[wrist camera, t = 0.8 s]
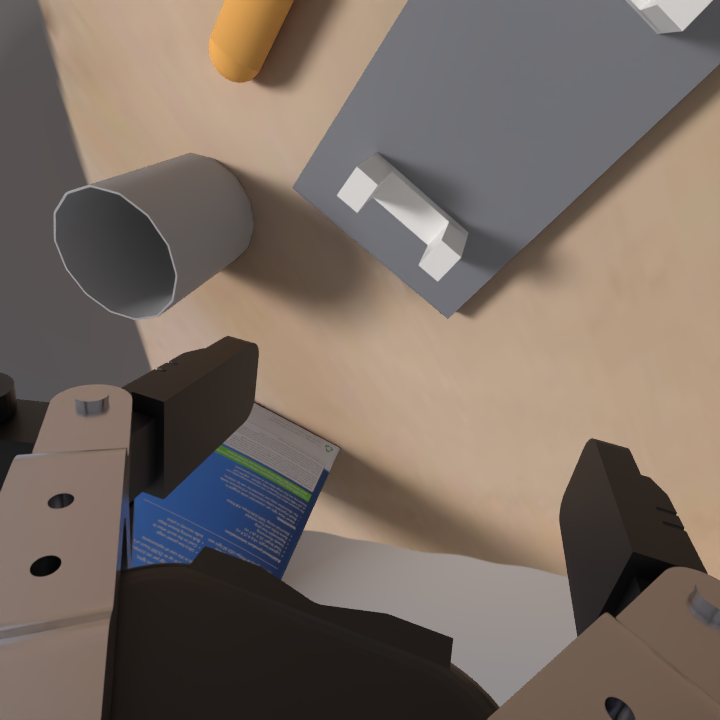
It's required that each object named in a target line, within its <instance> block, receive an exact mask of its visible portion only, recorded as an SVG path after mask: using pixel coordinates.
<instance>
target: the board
mask: <svg viewBox="0 0 720 720" xmlns="http://www.w3.org/2000/svg"><path fill="white" fill-rule="evenodd" d="M719 64H720V0H408V2H407V3H406V5H405V6H404V8H403V10H402V11H401V13H400V15H399V16H398V18H397V19H396V21H395V23H394V24H393V26H392V27H391V29H390V31H389V32H388V34H387V36H386V37H385V39H384V40H383V42H382V44H381V45H380V47H379V48H378V50H377V52H376V53H375V55H374V57H373V58H372V60H371V61H370V63H369V65H368V66H367V68H366V69H365V71H364V73H363V74H362V76H361V78H360V79H359V81H358V82H357V84H356V86H355V87H354V89H353V91H352V92H351V94H350V95H349V97H348V99H347V100H346V102H345V103H344V105H343V107H342V108H341V110H340V112H339V113H338V115H337V116H336V118H335V120H334V121H333V123H332V124H331V126H330V128H329V129H328V131H327V133H326V134H325V136H324V137H323V139H322V141H321V142H320V144H319V146H318V147H317V149H316V150H315V152H314V154H313V155H312V157H311V158H310V160H309V162H308V163H307V165H306V167H305V168H304V170H303V171H302V173H301V175H300V176H299V178H298V179H297V181H296V183H295V184H294V186H293V189H294V190H295V191H296V192H298V193H299V194H300V195H301V196H302V197H304V198H305V199H306V200H307V201H308V202H310V203H311V204H312V205H313V206H314V207H315V208H317V209H318V210H319V211H320V212H321V213H323V214H324V215H325V216H326V217H327V218H329V219H330V220H331V221H332V222H333V223H334V224H336V225H337V226H338V227H339V228H340V229H342V230H343V231H344V232H345V233H346V234H348V235H349V236H350V237H351V238H352V239H354V240H355V241H356V242H357V243H358V244H359V245H361V246H362V247H363V248H364V249H365V250H367V251H368V252H369V253H370V254H371V255H373V256H374V257H375V258H376V259H377V260H378V261H380V262H381V263H382V264H383V265H384V266H386V267H387V268H388V269H389V270H390V271H392V272H393V273H394V274H395V275H396V276H397V277H399V278H400V279H401V280H402V281H403V282H405V283H406V284H407V285H408V286H409V287H411V288H412V289H413V290H414V291H415V292H416V293H418V294H419V295H420V296H421V297H422V298H424V299H425V300H426V301H427V302H428V303H430V304H431V305H432V306H433V307H434V308H435V309H437V310H438V311H439V312H440V313H441V314H443V315H444V316H445V317H446V318H447V319H448V318H449V317H450V316H451V315H453V314H454V313H455V312H456V311H457V310H458V309H459V308H460V307H461V306H462V305H463V304H464V303H465V302H466V301H467V300H469V299H470V298H471V297H472V296H473V295H474V294H475V293H476V292H477V291H478V290H479V289H480V288H481V287H482V286H483V285H484V284H486V283H487V282H488V281H489V280H490V279H491V278H492V277H493V276H494V275H495V274H496V273H497V272H498V271H499V270H500V269H502V268H503V267H504V266H505V265H506V264H507V263H508V262H509V261H510V260H511V259H512V258H513V257H514V256H515V255H516V254H518V253H519V252H520V251H521V250H522V249H523V248H524V247H525V246H526V245H527V244H528V243H529V242H530V241H531V240H532V239H534V238H535V237H536V236H537V235H538V234H539V233H540V232H541V231H542V230H543V229H544V228H545V227H546V226H547V225H548V224H550V223H551V222H552V221H553V220H554V219H555V218H556V217H557V216H558V215H559V214H560V213H561V212H562V211H563V210H564V209H566V208H567V207H568V206H569V205H570V204H571V203H572V202H573V201H574V200H575V199H576V198H577V197H578V196H579V195H580V194H582V193H583V192H584V191H585V190H586V189H587V188H588V187H589V186H590V185H591V184H592V183H593V182H594V181H595V180H596V179H597V178H599V177H600V176H601V175H602V174H603V173H604V172H605V171H606V170H607V169H608V168H609V167H610V166H611V165H612V164H613V163H615V162H616V161H617V160H618V159H619V158H620V157H621V156H622V155H623V154H624V153H625V152H626V151H627V150H628V149H629V148H631V147H632V146H633V145H634V144H635V143H636V142H637V141H638V140H639V139H640V138H641V137H642V136H643V135H644V134H645V133H647V132H648V131H649V130H650V129H651V128H652V127H653V126H654V125H655V124H656V123H657V122H658V121H659V120H660V119H661V118H663V117H664V116H665V115H666V114H667V113H668V112H669V111H670V110H671V109H672V108H673V107H674V106H675V105H676V104H677V103H679V102H680V101H681V100H682V99H683V98H684V97H685V96H686V95H687V94H688V93H689V92H690V91H691V90H692V89H693V88H694V87H696V86H697V85H698V84H699V83H700V82H701V81H702V80H703V79H704V78H705V77H706V76H707V75H708V74H709V73H710V72H712V71H713V70H714V69H715V68H716V67H717V66H718V65H719Z"/></svg>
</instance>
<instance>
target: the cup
mask: <svg viewBox="0 0 720 720" xmlns="http://www.w3.org/2000/svg"><path fill="white" fill-rule="evenodd" d="M253 229H254V221H253V215H252V209H251V203H250V199H249V198H248V196H247V194H246V193H245V191H244V189H243V188H242V186H241V184H240V183H239V181H238V179H237V177H236V176H235V175H234V174H233V173H231V172H230V171H229V170H228V169H226V168H225V167H224V166H223V165H221V164H220V163H219V162H218V161H216V160H215V159H213V158H209V157H205V156H201V155H197V154H193V153H188V154H185V155H182V156H179V157H176V158H173V159H169V160H166V161H163V162H160V163H157V164H154V165H150V166H147V167H144V168H141V169H138V170H135V171H131V172H128V173H125V174H122V175H119V176H115V177H112V178H109V179H106V180H103V181H100V182H96V183H93V184H90V185H87V186H84V187H81V188H78V189H74V190H71V191H68V192H66V193H65V195H64V197H63V198H62V200H61V201H60V203H59V204H58V206H57V208H56V209H55V211H54V241H55V243H56V246H57V248H58V251H59V253H60V256H61V258H62V261H63V263H64V266H65V268H66V270H67V271H68V272H69V274H70V275H71V276H72V278H73V279H74V280H75V281H76V282H77V284H78V285H79V286H80V287H81V289H82V290H83V291H84V293H85V294H86V295H87V296H89V297H90V298H92V299H93V300H94V301H96V302H97V303H98V304H100V305H101V306H103V307H104V308H105V309H107V310H108V311H110V312H111V313H115V314H118V315H121V316H124V317H127V318H131V319H134V320H140V319H147V318H153V317H158V316H160V315H161V314H162V313H164V312H165V311H167V310H168V309H169V308H171V307H172V306H173V305H175V304H176V303H177V302H179V301H180V300H181V299H183V298H184V297H186V296H187V295H188V294H190V293H191V292H192V291H194V290H195V289H196V288H198V287H199V286H200V285H202V284H203V283H205V282H206V281H207V280H209V279H210V278H211V277H213V276H214V275H215V274H217V273H218V272H220V271H221V270H222V269H224V268H225V267H226V266H228V265H229V264H230V263H232V262H233V261H234V260H236V259H237V258H238V257H239V256H240V255H241V254H242V253H243V252H244V251H245V250H246V249H247V248H248V247H249V244H250V240H251V236H252V232H253Z"/></svg>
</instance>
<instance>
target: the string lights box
mask: <svg viewBox="0 0 720 720" xmlns="http://www.w3.org/2000/svg"><path fill="white" fill-rule="evenodd" d="M339 451H340V448H339V447H337V446H335V445H333V444H332V443H330V442H328V441H326V440H324V439H322V438H320V437H318V436H316V435H314V434H312V433H310V432H309V431H307V430H305V429H303V428H301V427H299V426H297V425H295V424H293V423H292V422H290V421H288V420H286V419H284V418H282V417H280V416H278V415H276V414H274V413H273V412H271V411H269V410H267V409H265V408H263V407H261V406H259V405H257V404H256V403H254V405H253V408H252V411H251V413H250V415H249V417H248V419H247V420H246V421H245V423H244V424H243V425H242V426H240V427H239V428H238V429H237V430H236V431H235V432H234V433H233V434H232V435H231V436H230V437H229V438H228V439H227V440H226V441H225V442H224V443H223V444H222V445H221V446H219V447H218V448H217V449H216V450H215V451H214V452H213V453H212V454H211V455H210V456H209V457H208V458H207V459H206V460H205V461H204V462H203V463H202V464H201V465H200V466H198V467H197V468H196V469H195V470H194V471H193V472H192V473H191V474H190V475H189V476H188V477H187V478H186V479H185V480H184V481H183V482H182V483H181V484H180V485H179V486H177V487H176V488H175V489H174V490H173V491H172V492H171V493H170V494H169V495H168V496H167V497H166V498H165V499H164V500H163V499H161V498H158V497H155V496H152V495H149V494H147V493H144V492H142V493H141V494H140V495H138V496H137V497H136V498H135V524H134V546H133V567H136V566H142V565H148V564H156V563H188V564H191V562H192V561H193V560H194V559H195V557H196V556H197V555H198V554H199V552H200V551H201V550H202V549H203V548H204V546H207V547H210V548H212V549H215V550H218V551H220V552H223V553H226V554H228V555H231V556H234V557H237V558H239V559H242V560H245V561H247V562H250V563H253V564H255V565H258V566H261V567H262V568H264V569H265V570H267V571H268V572H270V573H271V574H273V575H274V576H276V577H277V578H279V579H280V580H281V579H282V576H283V574H284V572H285V570H286V568H287V565H288V563H289V561H290V559H291V556H292V554H293V552H294V549H295V547H296V545H297V543H298V541H299V539H300V536H301V534H302V532H303V530H304V527H305V525H306V523H307V521H308V518H309V516H310V514H311V512H312V509H313V507H314V505H315V503H316V501H317V498H318V496H319V494H320V492H321V490H322V487H323V485H324V483H325V481H326V478H327V476H328V474H329V472H330V469H331V467H332V465H333V463H334V461H335V458H336V456H337V455H338V453H339Z"/></svg>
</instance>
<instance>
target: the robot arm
mask: <svg viewBox="0 0 720 720" xmlns="http://www.w3.org/2000/svg"><path fill="white" fill-rule="evenodd" d="M258 357H259V350H258V346H257V345H256V344H255V343H251V342H248V341H244V340H241V339H237V338H234V337H230V336H226V337H224V338H222V339H221V340H219V341H217V342H216V343H214V344H212V345H210V346H209V347H207V348H205V349H204V348H203V349H199V350H195V351H191V352H186V353H183V354H181V355H179V356H178V357H176V358H174V359H172V360H170V361H169V363H165V364H163V365H161V366H160V367H158V368H157V370H155V369H154V370H152V371H151V372H149V373H147V374H145V375H143V376H142V377H140V378H138V379H136V380H134V381H133V382H131V383H129V384H127V385H125V386H124V387H122V388H119V387H115V386H110V385H85V386H79V387H74V388H71V389H68V390H65V391H63V392H61V393H59V394H58V395H56V396H55V397H54V398H53V399H52V400H51V402H50V403H49V402H39V401H30V400H20V399H16V393H15V385H14V381H13V379H12V378H11V377H10V376H8V375H6V374H3V373H0V720H720V580H718V579H716V578H714V577H712V576H710V575H708V573H707V571H706V569H705V568H704V566H703V564H702V562H701V560H700V558H699V556H698V554H697V552H696V550H695V548H694V546H693V544H692V542H691V540H690V538H689V536H688V534H687V532H686V531H684V526H683V524H682V522H681V520H680V518H679V517H678V516H676V514H677V512H676V510H675V508H674V507H673V505H672V503H671V501H670V499H669V497H668V495H667V494H666V493H665V492H664V491H663V490H662V489H661V488H660V487H659V486H658V485H657V484H656V483H655V482H654V481H653V480H652V479H651V478H650V477H646V476H643V475H641V474H640V471H639V469H638V467H637V465H636V463H635V460H634V458H633V456H632V454H631V452H630V450H629V449H628V448H625V447H622V446H618V445H614V444H611V443H607V442H604V441H600V440H597V439H593V438H592V439H590V440H589V441H588V442H587V443H586V445H585V447H584V449H583V451H582V454H581V456H580V458H579V461H578V463H577V465H576V468H575V470H574V472H573V475H572V477H571V479H570V482H569V484H568V486H567V489H566V491H565V493H564V496H563V499H562V503H561V507H560V515H559V521H560V529H561V535H562V541H563V548H564V554H565V560H566V567H567V573H568V579H569V586H570V592H571V598H572V604H573V611H574V618H575V624H576V630H577V638H576V639H575V640H574V641H573V642H572V643H570V644H569V645H568V646H567V647H566V648H565V649H564V650H563V651H562V652H561V653H560V654H558V655H557V656H556V657H555V658H554V659H553V660H552V661H551V662H549V663H548V664H547V665H546V666H545V667H544V668H543V669H542V670H541V671H540V672H538V673H537V674H536V675H535V676H534V677H533V678H532V679H531V680H530V681H529V682H527V683H526V684H525V685H524V686H523V687H522V688H521V689H520V690H519V691H518V692H516V693H515V694H514V695H513V696H512V697H511V698H510V699H509V700H508V701H506V703H504V704H503V705H502V706H501V707H499V706H498V705H497V704H496V703H495V701H494V700H493V699H492V698H491V696H490V695H489V694H488V693H487V692H486V691H485V690H484V689H483V688H482V687H481V686H480V685H479V684H478V683H477V682H475V681H474V680H473V679H472V678H471V677H469V676H468V675H467V674H466V673H464V672H463V671H462V670H461V669H459V668H458V667H456V666H455V665H454V664H452V663H451V653H452V644H453V638H451V637H448V636H445V635H443V634H440V633H437V632H435V631H432V630H429V629H427V628H424V627H421V626H419V625H416V624H413V623H411V622H408V621H405V620H403V619H400V618H397V617H395V616H392V615H389V614H385V613H378V612H370V611H363V610H355V609H348V608H340V607H333V606H325V605H320V604H317V603H315V602H313V601H311V600H309V599H308V598H306V597H305V596H303V595H302V594H300V593H299V592H298V591H296V590H294V589H293V588H292V587H290V586H289V585H287V584H286V583H284V582H283V581H281V580H280V579H279V578H277V577H276V576H274V575H273V574H271V573H270V572H268V571H267V570H265V569H264V568H262V567H261V566H258V565H255V564H253V563H250V562H247V561H245V560H242V559H239V558H237V557H234V556H231V555H228V554H226V553H223V552H220V551H218V550H215V549H212V548H210V547H207V546H204V548H203V549H202V550H201V551H200V552H199V554H198V555H197V556H196V557H195V559H194V560H193V561H192V562H191V564H188V563H156V564H148V565H142V566H136V567H133V546H134V524H135V498H136V497H137V496H138V495H140V494H141V493H142V492H144V493H147V494H149V495H152V496H155V497H158V498H161V499H163V500H164V499H165V498H166V497H167V496H168V495H169V494H170V493H171V492H172V491H173V490H174V489H175V488H176V487H177V486H179V485H180V484H181V483H182V482H183V481H184V480H185V479H186V478H187V477H188V476H189V475H190V474H191V473H192V472H193V471H194V470H195V469H196V468H197V467H198V466H200V465H201V464H202V463H203V462H204V461H205V460H206V459H207V458H208V457H209V456H210V455H211V454H212V453H213V452H214V451H215V450H216V449H217V448H218V447H219V446H221V445H222V444H223V443H224V442H225V441H226V440H227V439H228V438H229V437H230V436H231V435H232V434H233V433H234V432H235V431H236V430H237V429H238V428H239V427H240V426H242V425H243V424H244V423H245V421H246V420H247V419H248V417H249V415H250V413H251V411H252V408H253V405H254V399H255V389H256V378H257V368H258Z"/></svg>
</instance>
